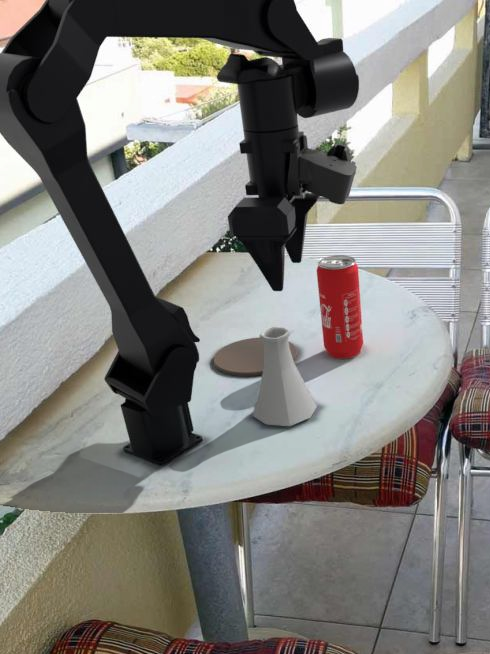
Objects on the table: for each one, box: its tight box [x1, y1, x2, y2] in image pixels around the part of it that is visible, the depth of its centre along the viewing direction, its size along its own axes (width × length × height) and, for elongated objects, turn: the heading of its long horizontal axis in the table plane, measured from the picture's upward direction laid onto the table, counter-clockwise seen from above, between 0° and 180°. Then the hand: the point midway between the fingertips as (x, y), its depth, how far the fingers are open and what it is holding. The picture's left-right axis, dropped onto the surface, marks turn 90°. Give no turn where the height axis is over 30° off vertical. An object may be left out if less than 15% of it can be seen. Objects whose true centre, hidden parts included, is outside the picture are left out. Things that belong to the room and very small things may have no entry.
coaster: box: [213, 337, 298, 377], centre depth 113 cm, size 11×11×1 cm
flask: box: [252, 326, 318, 427], centre depth 98 cm, size 7×7×10 cm
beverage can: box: [316, 254, 364, 360], centre depth 110 cm, size 5×5×12 cm
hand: (287, 276), depth 98 cm, fingers open, 9 cm apart
